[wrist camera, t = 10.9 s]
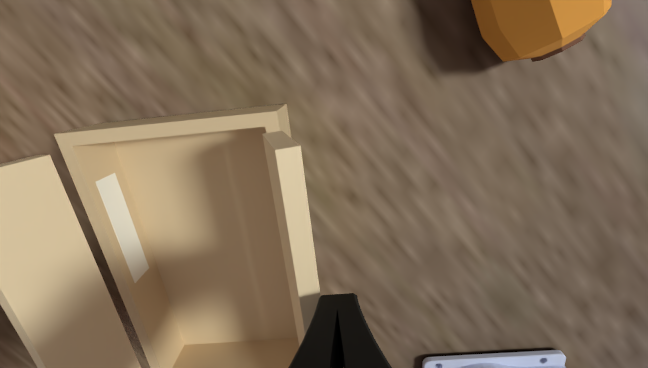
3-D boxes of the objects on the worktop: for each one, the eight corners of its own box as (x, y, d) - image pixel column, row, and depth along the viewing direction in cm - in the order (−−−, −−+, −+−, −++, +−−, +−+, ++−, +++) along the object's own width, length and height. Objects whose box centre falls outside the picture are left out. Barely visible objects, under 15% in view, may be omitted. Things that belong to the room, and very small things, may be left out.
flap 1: (-62, 182, 10) (-72, 181, 10) (99, 459, 15) (88, 454, 15) (49, 154, 13) (38, 155, 13) (153, 397, 18) (144, 393, 18)
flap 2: (324, 451, 14) (340, 444, 15) (275, 150, 9) (300, 146, 10) (306, 389, 17) (320, 384, 18) (262, 133, 12) (281, 130, 12)
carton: (286, 103, 16) (276, 111, 13) (319, 338, 21) (318, 379, 19) (101, 123, 16) (53, 134, 14) (180, 347, 22) (158, 387, 19)
